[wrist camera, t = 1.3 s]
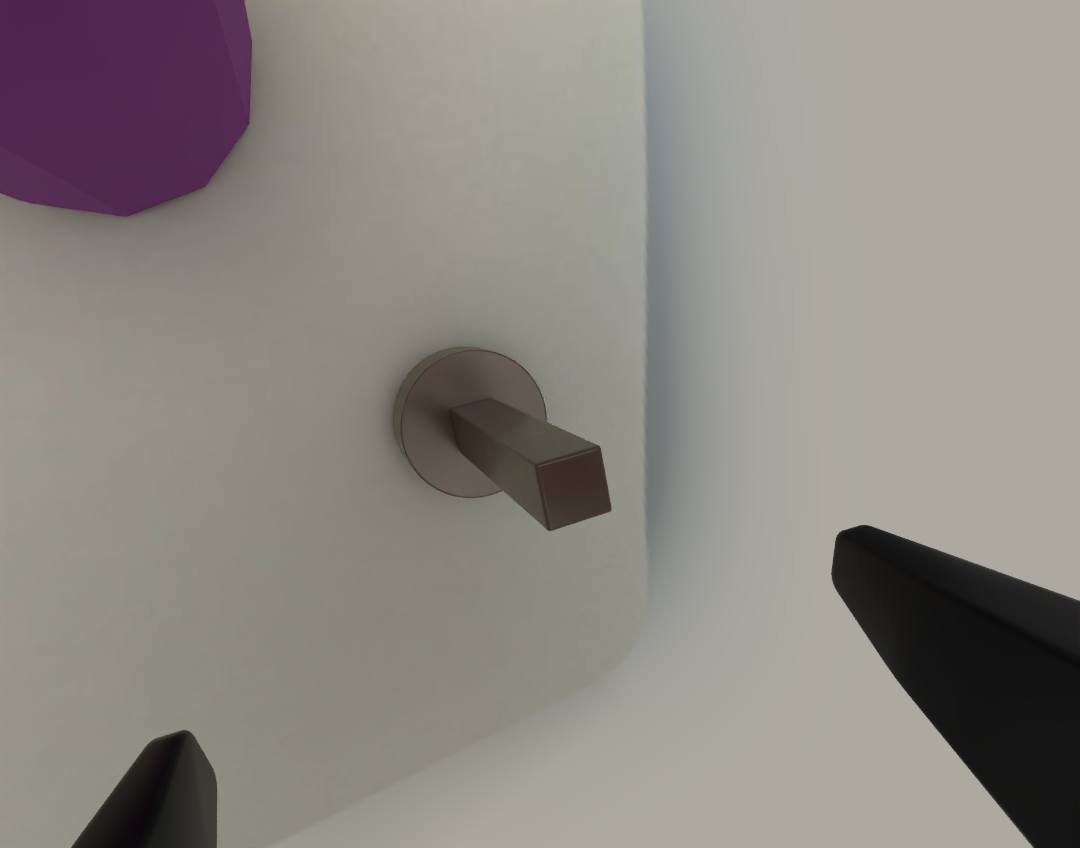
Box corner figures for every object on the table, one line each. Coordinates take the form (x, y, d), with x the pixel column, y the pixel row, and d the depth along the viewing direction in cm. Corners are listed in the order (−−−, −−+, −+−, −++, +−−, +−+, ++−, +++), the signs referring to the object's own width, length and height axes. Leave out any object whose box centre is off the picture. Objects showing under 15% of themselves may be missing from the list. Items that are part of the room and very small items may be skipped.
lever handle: (541, 463, 26) (693, 559, 16) (411, 501, 25) (488, 633, 15) (514, 333, 25) (660, 347, 15) (377, 364, 24) (434, 404, 13)
